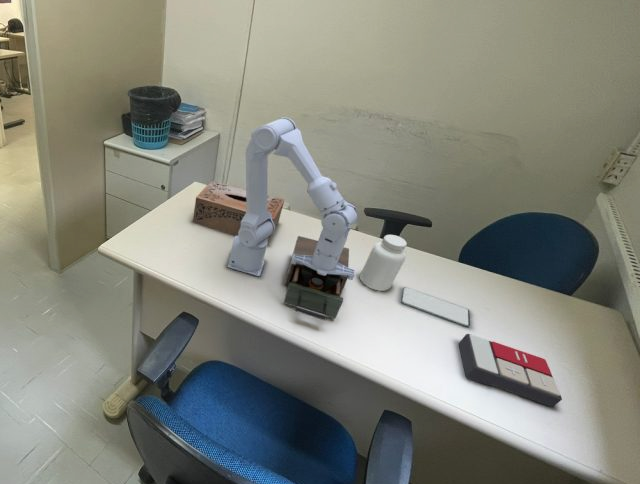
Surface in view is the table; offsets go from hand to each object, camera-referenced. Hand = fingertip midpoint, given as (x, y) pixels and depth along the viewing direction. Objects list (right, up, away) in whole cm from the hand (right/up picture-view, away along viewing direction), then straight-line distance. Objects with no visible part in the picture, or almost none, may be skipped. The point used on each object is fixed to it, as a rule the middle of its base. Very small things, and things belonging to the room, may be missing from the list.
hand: (313, 290), depth 105 cm
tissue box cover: (-12, +18, +33) cm, 39 cm away
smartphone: (+32, -5, 0) cm, 33 cm away
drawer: (-1, -3, 0) cm, 3 cm away
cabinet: (+4, +2, +10) cm, 11 cm away
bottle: (0, -1, +1) cm, 1 cm away
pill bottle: (+21, +1, +8) cm, 23 cm away
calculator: (+35, -16, -16) cm, 41 cm away
